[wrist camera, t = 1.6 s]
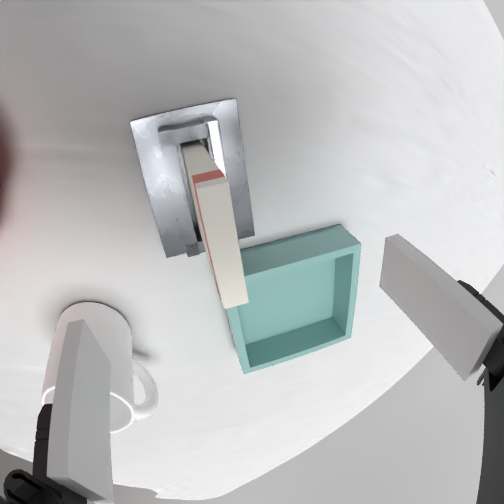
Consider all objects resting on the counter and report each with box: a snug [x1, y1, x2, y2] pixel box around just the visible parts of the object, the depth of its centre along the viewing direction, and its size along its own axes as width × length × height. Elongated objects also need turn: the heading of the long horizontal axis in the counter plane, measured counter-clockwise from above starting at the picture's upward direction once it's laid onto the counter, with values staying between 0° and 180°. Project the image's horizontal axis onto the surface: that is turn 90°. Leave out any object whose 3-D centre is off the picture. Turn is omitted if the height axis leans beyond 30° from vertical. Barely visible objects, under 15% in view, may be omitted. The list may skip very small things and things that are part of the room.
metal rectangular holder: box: [130, 99, 255, 258], centre depth 23 cm, size 12×8×3 cm, turn 7°
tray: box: [225, 224, 361, 374], centre depth 32 cm, size 13×13×4 cm
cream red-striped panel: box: [180, 139, 249, 309], centre depth 20 cm, size 7×1×11 cm, turn 7°
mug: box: [41, 302, 158, 434], centre depth 26 cm, size 12×8×10 cm
